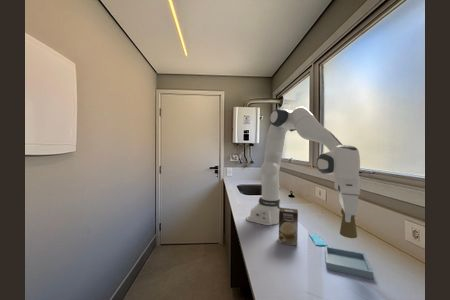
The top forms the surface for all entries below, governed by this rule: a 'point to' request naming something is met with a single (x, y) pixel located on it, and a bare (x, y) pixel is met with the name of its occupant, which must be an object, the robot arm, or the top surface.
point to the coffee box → (288, 226)
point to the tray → (348, 262)
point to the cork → (348, 227)
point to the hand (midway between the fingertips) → (346, 219)
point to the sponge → (317, 240)
